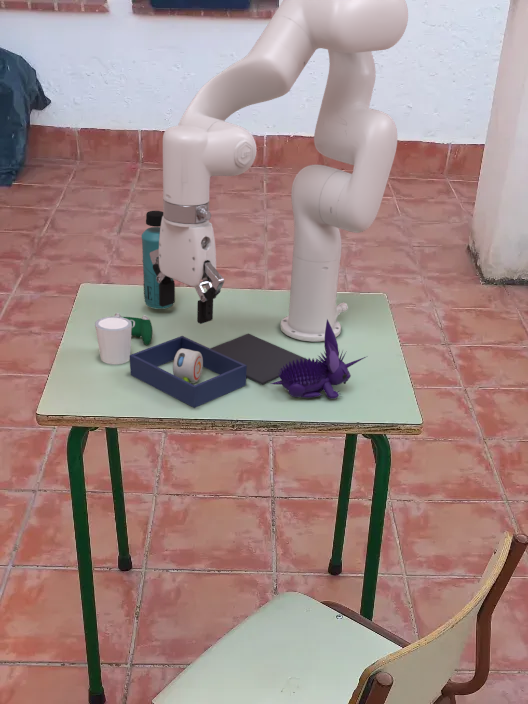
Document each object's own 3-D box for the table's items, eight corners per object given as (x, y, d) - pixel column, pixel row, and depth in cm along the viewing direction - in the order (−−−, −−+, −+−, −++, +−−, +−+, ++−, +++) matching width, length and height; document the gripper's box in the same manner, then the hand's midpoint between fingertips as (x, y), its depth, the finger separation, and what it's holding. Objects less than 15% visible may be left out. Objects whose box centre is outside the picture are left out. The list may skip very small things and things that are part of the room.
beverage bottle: (180, 309, 191) (179, 211, 179) (162, 318, 187) (159, 219, 174) (156, 301, 194) (153, 205, 181) (137, 311, 190) (132, 212, 177)
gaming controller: (152, 350, 179) (156, 321, 180) (149, 342, 175) (153, 313, 176) (107, 346, 180) (111, 317, 180) (103, 338, 176) (107, 309, 176)
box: (182, 355, 174) (182, 335, 172) (246, 385, 166) (246, 365, 163) (130, 375, 166) (129, 355, 164) (194, 408, 158) (194, 387, 155)
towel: (248, 335, 183) (248, 333, 182) (311, 363, 174) (311, 360, 174) (198, 355, 175) (198, 352, 174) (262, 385, 166) (262, 382, 166)
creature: (368, 402, 163) (377, 338, 155) (270, 403, 161) (274, 338, 153) (359, 380, 170) (367, 318, 162) (265, 381, 168) (268, 318, 160)
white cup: (94, 352, 173) (91, 317, 169) (128, 348, 175) (126, 314, 171) (101, 367, 168) (99, 332, 164) (137, 363, 170) (135, 328, 166)
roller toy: (169, 384, 164) (168, 355, 161) (182, 370, 169) (182, 341, 165) (191, 389, 163) (191, 359, 160) (204, 375, 168) (204, 346, 164)
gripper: (239, 220, 145) (235, 323, 156) (167, 195, 153) (168, 293, 164) (206, 229, 140) (204, 333, 151) (134, 202, 149) (137, 303, 160)
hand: (185, 313), depth 158 cm, fingers open, 9 cm apart
